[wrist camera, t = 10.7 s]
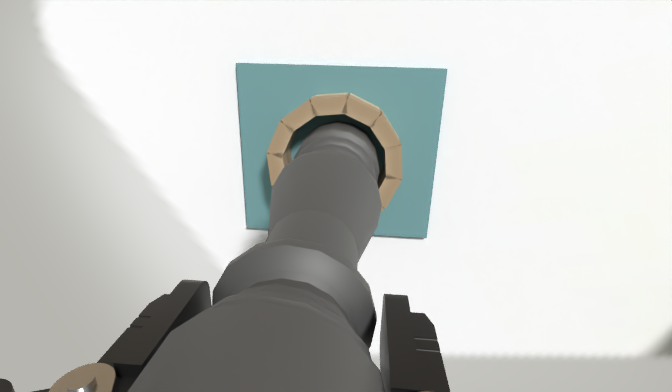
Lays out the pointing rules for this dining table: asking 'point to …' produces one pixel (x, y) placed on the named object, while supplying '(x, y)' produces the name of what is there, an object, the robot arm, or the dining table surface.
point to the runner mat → (367, 83)
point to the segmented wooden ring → (353, 108)
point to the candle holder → (291, 287)
